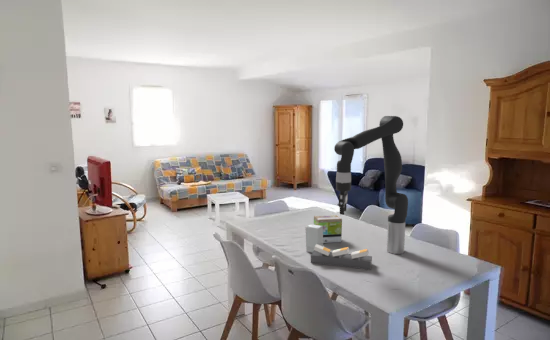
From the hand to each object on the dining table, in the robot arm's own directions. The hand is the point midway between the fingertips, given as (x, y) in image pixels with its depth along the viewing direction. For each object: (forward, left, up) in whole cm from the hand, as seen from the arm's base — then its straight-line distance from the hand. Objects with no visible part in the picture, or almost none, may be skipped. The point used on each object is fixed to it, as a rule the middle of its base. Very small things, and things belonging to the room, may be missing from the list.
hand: (343, 212), depth 193 cm
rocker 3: (+5, +9, -19) cm, 22 cm away
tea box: (-32, -14, -26) cm, 44 cm away
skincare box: (-10, -17, -26) cm, 33 cm away
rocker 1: (+5, -10, -20) cm, 23 cm away
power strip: (+3, 0, -26) cm, 26 cm away
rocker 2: (+5, 0, -19) cm, 20 cm away
